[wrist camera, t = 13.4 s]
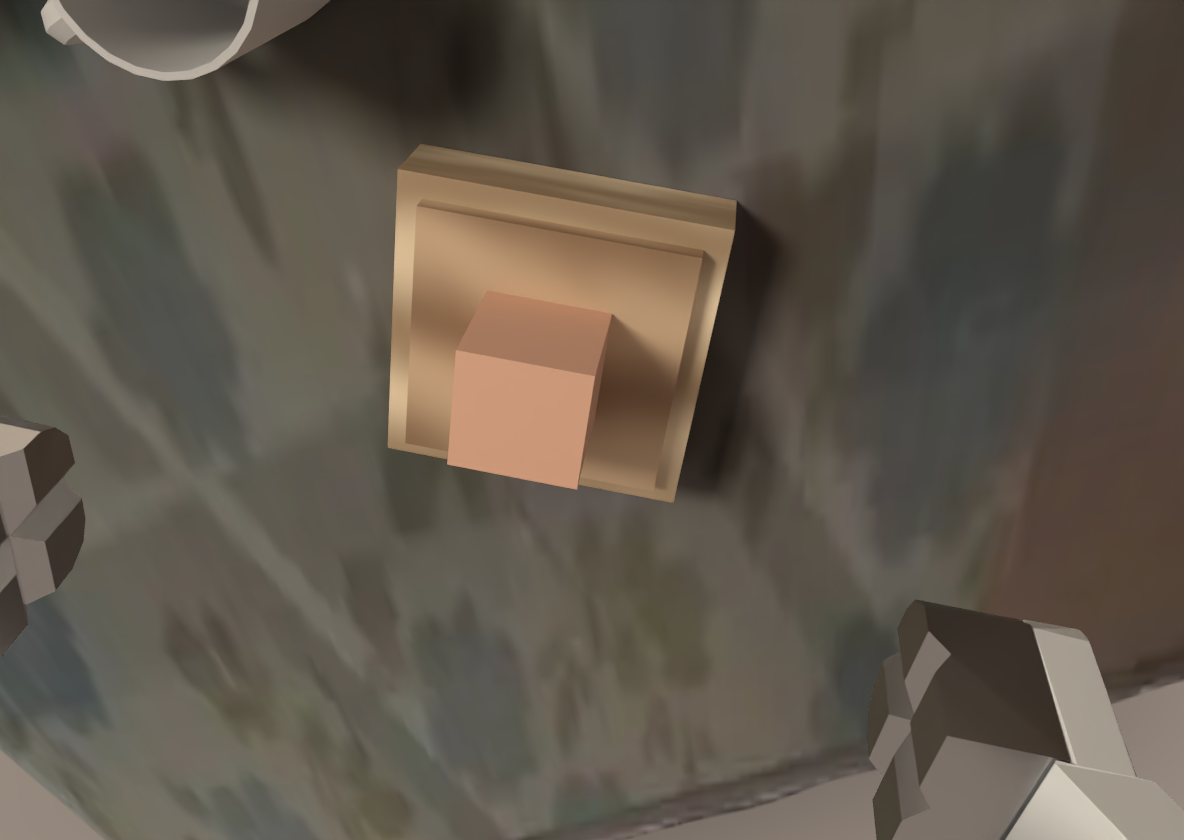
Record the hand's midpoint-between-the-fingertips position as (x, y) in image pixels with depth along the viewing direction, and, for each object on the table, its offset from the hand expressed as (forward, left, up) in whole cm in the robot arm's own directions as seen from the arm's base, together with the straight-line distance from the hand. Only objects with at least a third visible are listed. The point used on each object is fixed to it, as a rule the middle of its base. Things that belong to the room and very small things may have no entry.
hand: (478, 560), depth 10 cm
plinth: (+14, -3, -33) cm, 36 cm away
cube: (+14, -3, -29) cm, 32 cm away
